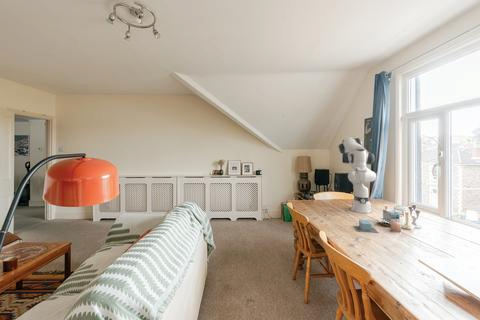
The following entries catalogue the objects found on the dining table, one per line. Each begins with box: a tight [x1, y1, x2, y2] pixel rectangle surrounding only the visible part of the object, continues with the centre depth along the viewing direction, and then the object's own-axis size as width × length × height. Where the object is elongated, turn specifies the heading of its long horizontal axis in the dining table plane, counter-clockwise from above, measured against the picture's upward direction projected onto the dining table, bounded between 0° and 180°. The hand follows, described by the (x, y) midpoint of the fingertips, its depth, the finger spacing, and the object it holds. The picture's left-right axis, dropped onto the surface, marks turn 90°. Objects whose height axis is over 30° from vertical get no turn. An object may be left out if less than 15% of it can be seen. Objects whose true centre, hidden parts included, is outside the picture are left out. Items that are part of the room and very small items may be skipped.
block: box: [358, 219, 372, 231], centre depth 161 cm, size 5×6×10 cm
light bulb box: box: [382, 208, 401, 224], centre depth 171 cm, size 11×7×11 cm, turn 179°
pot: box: [390, 221, 402, 233], centre depth 157 cm, size 6×6×6 cm
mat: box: [353, 225, 379, 234], centre depth 160 cm, size 11×14×1 cm
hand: (359, 185), depth 176 cm, fingers open, 8 cm apart
